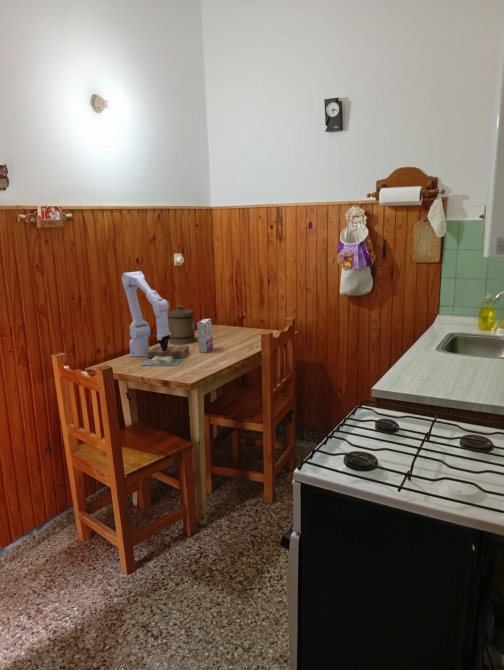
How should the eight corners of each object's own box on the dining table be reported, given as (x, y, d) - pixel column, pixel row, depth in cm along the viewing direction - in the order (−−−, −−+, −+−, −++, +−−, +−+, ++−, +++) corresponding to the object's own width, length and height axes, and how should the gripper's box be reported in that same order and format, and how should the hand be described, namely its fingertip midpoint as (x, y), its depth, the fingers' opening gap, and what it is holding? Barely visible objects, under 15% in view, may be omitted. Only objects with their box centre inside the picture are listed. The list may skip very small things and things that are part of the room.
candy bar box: (204, 347, 266) (202, 318, 263) (213, 347, 265) (211, 318, 262) (198, 352, 255) (196, 322, 252) (207, 353, 254) (205, 322, 251)
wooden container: (200, 340, 284) (197, 303, 280) (181, 345, 274) (178, 307, 269) (184, 337, 294) (181, 302, 290) (164, 342, 284) (161, 305, 279)
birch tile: (155, 356, 242) (155, 360, 242) (151, 359, 236) (151, 363, 237) (172, 356, 241) (173, 360, 241) (169, 359, 235) (169, 363, 235)
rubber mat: (141, 365, 235) (141, 365, 235) (148, 359, 246) (148, 359, 246) (177, 365, 233) (177, 364, 233) (183, 359, 243) (182, 358, 243)
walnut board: (149, 359, 246) (148, 352, 245) (156, 353, 258) (155, 346, 257) (183, 359, 244) (182, 351, 243) (189, 353, 255) (188, 345, 255)
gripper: (166, 327, 233) (168, 354, 235) (174, 321, 247) (176, 347, 250) (151, 327, 233) (154, 354, 236) (161, 321, 248) (163, 347, 250)
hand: (164, 350), depth 243 cm, fingers closed
